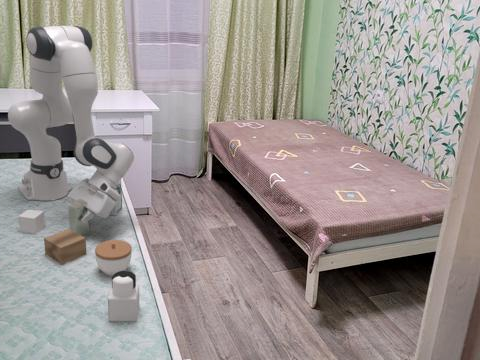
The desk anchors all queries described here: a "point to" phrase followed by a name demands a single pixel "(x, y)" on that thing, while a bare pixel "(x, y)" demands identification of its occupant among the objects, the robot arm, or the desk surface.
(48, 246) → the walnut block
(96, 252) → the lidded jar
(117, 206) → the syrup box
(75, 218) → the tea tin
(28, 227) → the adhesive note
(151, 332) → the desk surface
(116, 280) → the medicine bottle
